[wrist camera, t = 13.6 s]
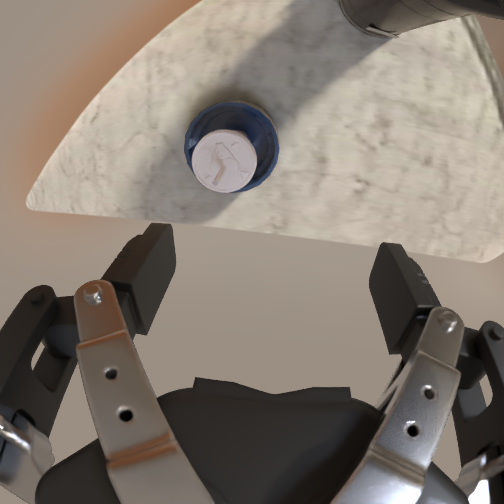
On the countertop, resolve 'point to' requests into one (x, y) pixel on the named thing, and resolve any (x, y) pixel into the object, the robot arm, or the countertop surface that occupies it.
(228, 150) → the smoothie
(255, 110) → the bowl
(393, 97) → the countertop surface
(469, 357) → the robot arm
